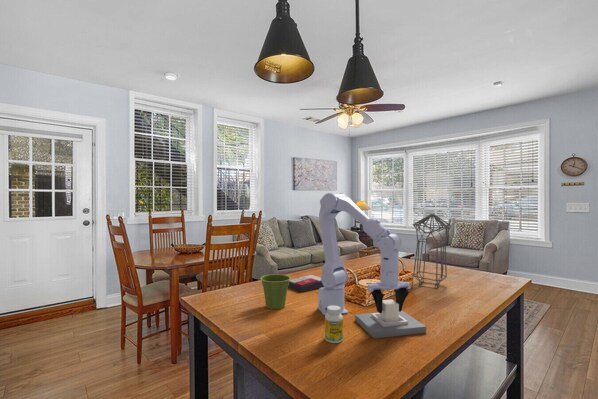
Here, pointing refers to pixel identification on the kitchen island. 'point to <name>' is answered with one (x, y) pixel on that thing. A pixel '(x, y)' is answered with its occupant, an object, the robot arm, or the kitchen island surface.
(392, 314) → the cream block
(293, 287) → the dark product box
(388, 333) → the display plinth
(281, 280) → the plant pot
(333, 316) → the supplement bottle
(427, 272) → the geometric lantern
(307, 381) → the kitchen island surface
